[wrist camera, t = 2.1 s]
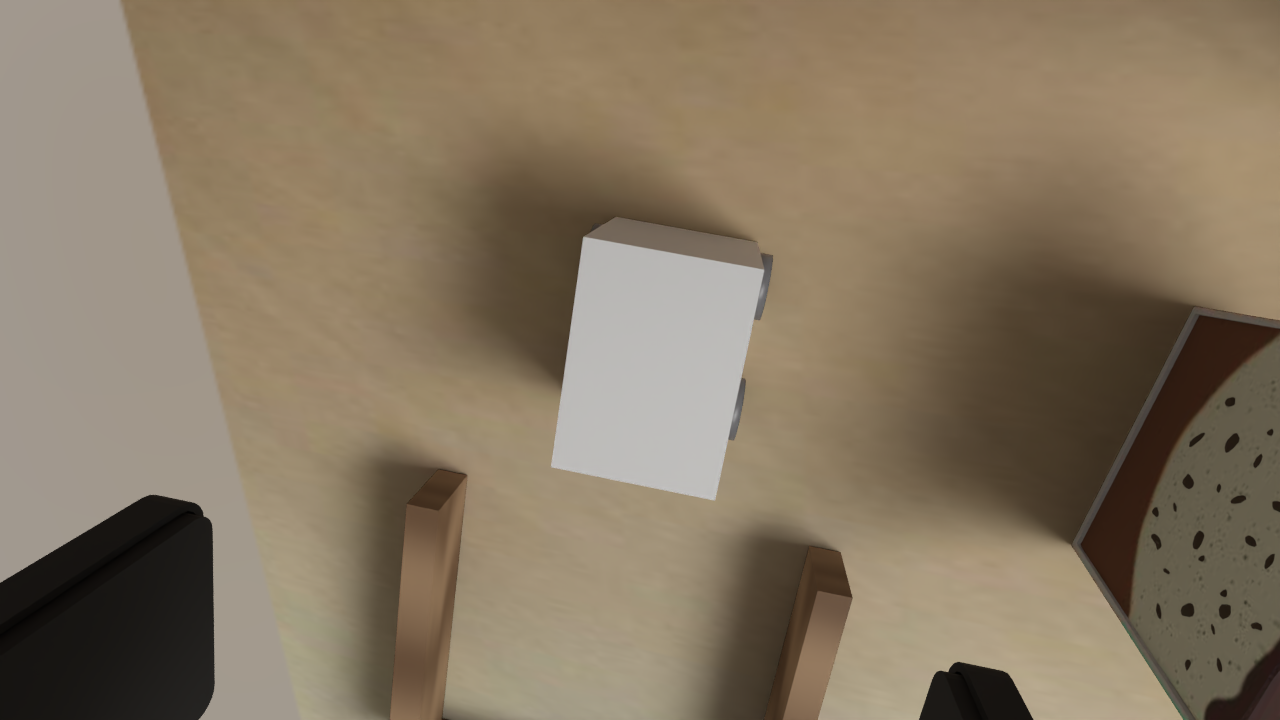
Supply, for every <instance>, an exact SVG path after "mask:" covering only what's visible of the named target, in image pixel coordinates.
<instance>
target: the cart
mask: <svg viewBox="0 0 1280 720" xmlns="http://www.w3.org/2000/svg"><path fill="white" fill-rule="evenodd" d="M772 262H773V255H769V254H763V253H760V250H759V246H758V242H754V241H748V240H743V239H737V238H732V237H726V236H720V235H715V234H709V233H704V232H698V231H693V230H687V229H681V228H676V227H670V226H665V225H659V224H654V223H648V222H642V221H637V220H631V219H626V218H620V217H615V218H613V219H611V220H610V221H608V222H607V223H605V224H603V225H602V224H597V223H595V224H594V225H593V227H592V229H591V232H590V233H589V234H587V235H585V236H584V237H583V243H582V250H581V257H580V264H579V271H578V279H577V286H576V293H575V300H574V307H573V314H572V321H571V329H570V336H569V343H568V350H567V357H566V364H565V371H564V379H563V386H562V393H561V400H560V407H559V414H558V421H557V429H556V436H555V443H554V450H553V457H552V464H551V467H553V468H558V469H563V470H568V471H573V472H578V473H582V474H587V475H592V476H597V477H602V478H607V479H612V480H617V481H622V482H627V483H631V484H636V485H641V486H646V487H651V488H656V489H661V490H666V491H671V492H676V493H680V494H685V495H690V496H695V497H700V498H705V499H710V500H715V498H716V493H717V488H718V484H719V479H720V474H721V470H722V465H723V461H724V456H725V451H726V447H727V442H728V440H734V439H735V436H736V433H737V429H738V425H739V420H740V416H741V410H742V405H743V399H744V392H745V383H746V380H745V379H743V378H741V377H742V372H743V367H744V363H745V358H746V353H747V349H748V344H749V339H750V335H751V330H752V325H753V321H754V319H755V320H760V318H761V315H762V312H763V309H764V305H765V301H766V296H767V292H768V287H769V282H770V276H771V270H772Z"/></svg>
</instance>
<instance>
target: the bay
mask: <svg viewBox="0 0 1280 720" xmlns="http://www.w3.org/2000/svg"><path fill="white" fill-rule="evenodd" d="M466 484H467V475H463V474H458V473H454V472H449V471H444V470H439V469H438V470H437V471H436V472H435V473H434V475H433V476H432V477H431V478H430V479H429V480H428V481H427V482H426V483H425V484H424V486H423V487H422V488H421V489H420V490H419V491H418V492H417V493H416V494H415V495H414V497H413V498H412V499H411V500H410V501H409V502H408V503H407V506H406V519H405V532H404V544H403V557H402V570H401V583H400V596H399V608H398V621H397V634H396V647H395V659H394V672H393V685H392V698H391V711H390V720H447V719H442V715H443V706H444V696H445V686H446V677H447V667H448V657H449V648H450V638H451V629H452V619H453V609H454V600H455V590H456V580H457V571H458V561H459V552H460V542H461V532H462V523H463V513H464V503H465V494H466ZM851 602H852V594H851V590H850V587H849V583H848V579H847V575H846V571H845V567H844V564H843V560H842V556H841V552H836V551H831V550H826V549H821V548H816V547H812V546H809V549H808V553H807V557H806V561H805V565H804V568H803V572H802V576H801V580H800V584H799V588H798V591H797V595H796V599H795V603H794V607H793V611H792V614H791V618H790V622H789V626H788V630H787V633H786V637H785V641H784V645H783V649H782V653H781V656H780V660H779V664H778V668H777V672H776V676H775V679H774V683H773V687H772V691H771V695H770V698H769V702H768V706H767V710H766V714H765V718H764V720H818V716H819V713H820V709H821V706H822V702H823V699H824V695H825V692H826V688H827V685H828V681H829V678H830V675H831V671H832V668H833V664H834V661H835V657H836V654H837V650H838V647H839V643H840V640H841V636H842V633H843V629H844V626H845V622H846V619H847V615H848V612H849V609H850V605H851Z"/></svg>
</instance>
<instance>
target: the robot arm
mask: <svg viewBox="0 0 1280 720" xmlns="http://www.w3.org/2000/svg"><path fill="white" fill-rule="evenodd" d="M212 532H213V531H212V524H211V522H210V520H209V519H208V518H206V517H204V516H203V511H202V509H201V508H200V506H199V505H197V504H195V503H192V502H187V501H183V500H178V499H173V498H168V497H163V496H158V495H149V496H146V497H144V498H142V499H140V500H138V501H137V502H135V503H133V504H131V505H130V506H128V507H126V508H125V509H123V510H121V511H120V512H118V513H116V514H115V515H113V516H111V517H110V518H108V519H106V520H105V521H103V522H101V523H100V524H98V525H97V526H95V527H93V528H92V529H90V530H88V531H87V532H85V533H83V534H81V535H80V536H78V537H76V538H75V539H73V540H71V541H70V542H68V543H66V544H65V545H63V546H61V547H59V548H58V549H56V550H54V551H53V552H51V553H49V554H48V555H46V556H45V557H43V558H41V559H39V560H38V561H36V562H35V563H33V564H31V565H29V566H28V567H26V568H24V569H23V570H21V571H19V572H18V573H16V574H14V575H13V576H11V577H9V578H8V579H6V580H4V581H3V582H1V583H0V720H198V719H199V718H200V717H201V716H202V715H203V713H204V712H205V710H206V709H207V707H208V705H209V703H210V700H211V698H212V695H213V692H214V684H215V681H214V608H213V607H214V606H213V535H212V534H213V533H212ZM919 720H1033V718H1032V716H1031V714H1030V712H1029V711H1028V709H1027V707H1026V705H1025V703H1024V701H1023V699H1022V697H1021V695H1020V693H1019V691H1018V690H1017V688H1016V686H1015V684H1014V682H1013V680H1012V679H1011V677H1010V676H1009V674H1008V673H1006V672H1004V671H1000V670H995V669H990V668H986V667H981V666H976V665H971V664H966V663H961V662H957V663H954V664H953V665H952V666H951V667H950V669H949V672H944V671H938V672H937V673H936V674H935V675H934V677H933V679H932V682H931V685H930V688H929V691H928V694H927V697H926V700H925V703H924V706H923V709H922V712H921V715H920V718H919Z"/></svg>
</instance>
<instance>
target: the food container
mask: <svg viewBox="0 0 1280 720" xmlns="http://www.w3.org/2000/svg"><path fill="white" fill-rule="evenodd" d="M1072 547H1073V549H1074V550H1075V552H1076V553H1077V555H1078V556H1079V558H1080V559H1081V561H1082V563H1083V564H1084V566H1085V567H1086V569H1087V570H1088V572H1089V573H1090V575H1091V577H1092V578H1093V580H1094V581H1095V583H1096V584H1097V586H1098V587H1099V589H1100V591H1101V592H1102V594H1103V595H1104V597H1105V598H1106V600H1107V601H1108V603H1109V605H1110V606H1111V608H1112V609H1113V611H1114V612H1115V614H1116V615H1117V617H1118V619H1119V620H1120V622H1121V623H1122V625H1123V626H1124V628H1125V629H1126V631H1127V633H1128V634H1129V636H1130V637H1131V639H1132V640H1133V642H1134V643H1135V645H1136V647H1137V648H1138V650H1139V651H1140V653H1141V654H1142V656H1143V657H1144V659H1145V661H1146V662H1147V664H1148V665H1149V667H1150V668H1151V670H1152V671H1153V673H1154V675H1155V676H1156V678H1157V679H1158V681H1159V682H1160V684H1161V685H1162V687H1163V689H1164V690H1165V692H1166V693H1167V695H1168V696H1169V698H1170V699H1171V701H1172V703H1173V704H1174V706H1175V707H1176V709H1177V710H1178V712H1179V713H1180V715H1181V717H1182V718H1183V720H1280V321H1279V320H1273V319H1267V318H1262V317H1256V316H1250V315H1244V314H1238V313H1232V312H1226V311H1220V310H1215V309H1209V308H1203V307H1197V306H1194V308H1193V310H1192V312H1191V314H1190V316H1189V318H1188V320H1187V321H1186V323H1185V325H1184V327H1183V329H1182V331H1181V333H1180V335H1179V337H1178V339H1177V341H1176V343H1175V345H1174V347H1173V349H1172V351H1171V353H1170V355H1169V356H1168V358H1167V360H1166V362H1165V364H1164V366H1163V368H1162V370H1161V372H1160V374H1159V376H1158V378H1157V380H1156V382H1155V384H1154V386H1153V388H1152V390H1151V391H1150V393H1149V395H1148V397H1147V399H1146V401H1145V403H1144V405H1143V407H1142V409H1141V411H1140V413H1139V415H1138V417H1137V419H1136V421H1135V423H1134V425H1133V426H1132V428H1131V430H1130V432H1129V434H1128V436H1127V438H1126V440H1125V442H1124V444H1123V446H1122V448H1121V450H1120V452H1119V454H1118V456H1117V458H1116V460H1115V461H1114V463H1113V465H1112V467H1111V469H1110V471H1109V473H1108V475H1107V477H1106V479H1105V481H1104V483H1103V485H1102V487H1101V489H1100V491H1099V493H1098V495H1097V496H1096V498H1095V500H1094V502H1093V504H1092V506H1091V508H1090V510H1089V512H1088V514H1087V516H1086V518H1085V520H1084V522H1083V524H1082V526H1081V528H1080V530H1079V531H1078V533H1077V535H1076V537H1075V539H1074V541H1073V543H1072Z"/></svg>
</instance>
